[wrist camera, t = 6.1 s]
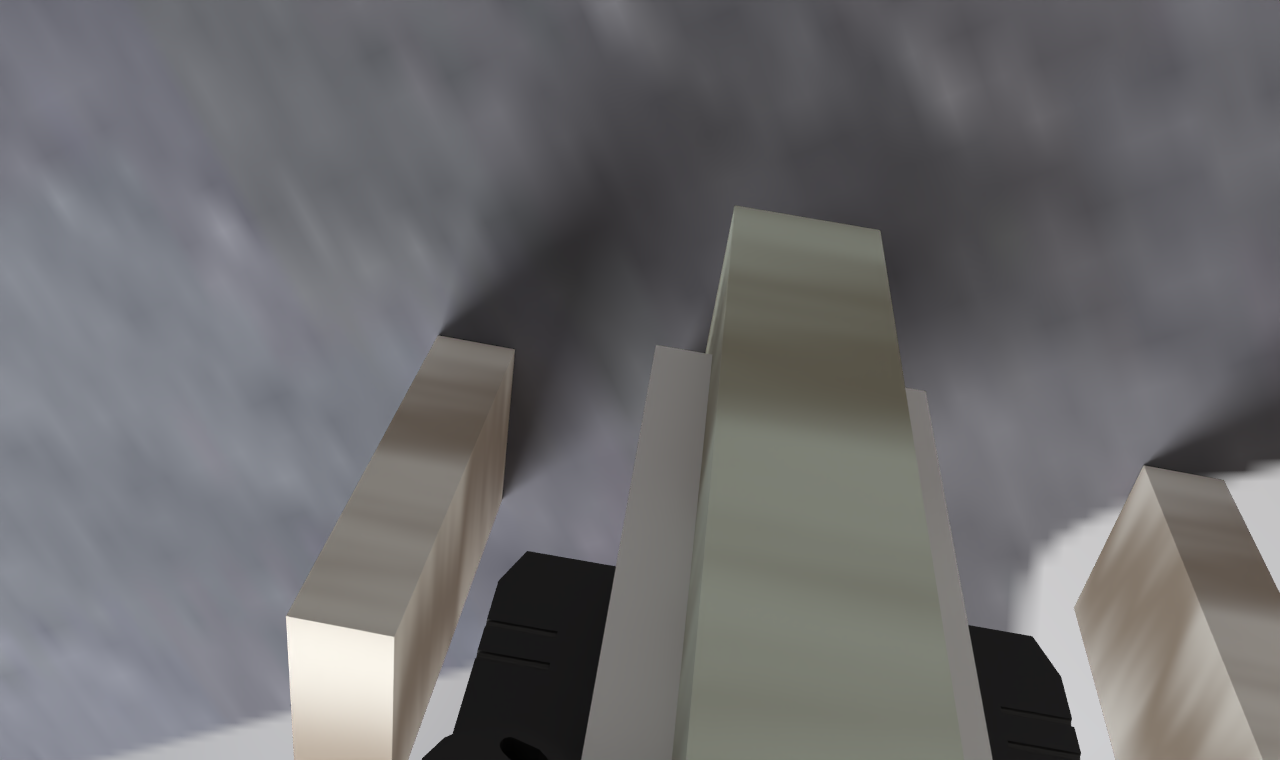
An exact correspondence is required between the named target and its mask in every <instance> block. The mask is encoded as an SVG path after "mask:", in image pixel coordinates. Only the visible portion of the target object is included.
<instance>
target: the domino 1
mask: <svg viewBox="0 0 1280 760" xmlns="http://www.w3.org/2000/svg"><path fill="white" fill-rule="evenodd" d="M514 356H515V349H510V348H504V347H499V346H493V345H488V344H483V343H477V342H472V341H466V340H461V339H455V338H450V337H444V336H439V335H438V336H437V338H436V340H435V342H434V344H433V345H432V347H431V349H430V351H429V353H428V355H427V357H426V358H425V360H424V362H423V364H422V366H421V368H420V370H419V371H418V373H417V375H416V377H415V379H414V381H413V382H412V384H411V386H410V388H409V390H408V392H407V394H406V395H405V397H404V399H403V401H402V403H401V405H400V406H399V408H398V410H397V412H396V414H395V416H394V418H393V419H392V421H391V423H390V425H389V427H388V429H387V431H386V432H385V434H384V436H383V438H382V440H381V442H380V443H379V445H378V447H377V449H376V451H375V453H374V455H373V456H372V458H371V460H370V462H369V464H368V466H367V468H366V469H365V471H364V473H363V475H362V477H361V479H360V480H359V482H358V484H357V486H356V488H355V490H354V492H353V493H352V495H351V497H350V499H349V501H348V503H347V505H346V506H345V508H344V510H343V512H342V514H341V516H340V517H339V519H338V521H337V523H336V525H335V527H334V529H333V530H332V532H331V534H330V536H329V538H328V540H327V542H326V543H325V545H324V547H323V549H322V551H321V553H320V554H319V556H318V558H317V560H316V562H315V564H314V566H313V567H312V569H311V571H310V573H309V575H308V577H307V579H306V580H305V582H304V584H303V586H302V588H301V590H300V591H299V593H298V595H297V597H296V599H295V601H294V603H293V604H292V606H291V608H290V610H289V612H288V614H287V616H286V623H287V641H288V658H289V676H290V694H291V712H292V730H293V748H294V760H408V759H409V756H410V753H411V750H412V747H413V745H414V742H415V739H416V737H417V734H418V731H419V728H420V726H421V723H422V720H423V717H424V714H425V712H426V709H427V706H428V703H429V700H430V698H431V695H432V692H433V689H434V687H435V684H436V681H437V678H438V676H439V673H440V670H441V667H442V665H443V662H444V659H445V656H446V654H447V651H448V648H449V645H450V642H451V640H452V637H453V634H454V631H455V629H456V626H457V623H458V620H459V617H460V615H461V612H462V609H463V606H464V604H465V601H466V598H467V595H468V593H469V590H470V587H471V584H472V581H473V579H474V576H475V573H476V570H477V568H478V565H479V562H480V559H481V557H482V554H483V551H484V548H485V545H486V543H487V540H488V537H489V534H490V532H491V529H492V526H493V523H494V521H495V518H496V515H497V512H498V509H499V507H500V504H501V501H502V494H503V482H504V471H505V459H506V448H507V436H508V425H509V413H510V402H511V390H512V379H513V367H514Z"/></svg>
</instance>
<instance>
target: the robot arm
mask: <svg viewBox="0 0 1280 760" xmlns="http://www.w3.org/2000/svg"><path fill="white" fill-rule="evenodd" d="M711 365H712V354H706V353H700V352H694V351H689V350H683V349H677V348H671V347H665V346H659V345H656V347H655V353H654V358H653V364H652V370H651V375H650V381H649V386H648V392H647V397H646V403H645V408H644V414H643V420H642V425H641V431H640V436H639V442H638V447H637V453H636V458H635V464H634V470H633V475H632V481H631V486H630V492H629V497H628V503H627V508H626V514H625V520H624V525H623V531H622V536H621V542H620V547H619V553H618V558H617V564H616V566H610V565H604V564H599V563H593V562H587V561H581V560H576V559H570V558H564V557H558V556H553V555H547V554H541V553H535V552H530V551H527V552H526V553H525V554H524V555H523V556H522V557H521V558H520V559H519V560H518V561H517V562H516V563H515V564H514V565H513V566H512V567H511V569H510V570H509V571H508V572H507V573H506V574H505V575H504V576H503V577H502V578H501V579H500V580H499V581H498V585H497V588H496V591H495V595H494V598H493V601H492V605H491V608H490V611H489V615H488V618H487V623H486V627H485V628H484V631H483V635H482V638H481V641H480V645H479V648H478V653H477V657H476V658H475V661H474V665H473V668H472V671H471V674H470V678H469V681H468V684H467V688H466V691H465V694H464V698H463V701H462V704H461V708H460V711H459V715H458V718H457V721H456V724H455V728H454V731H453V734H452V735H450V736H448V737H445V738H444V739H443V740H441V741H440V742H439V743H438V744H437V745H436V746H435V747H434V748H433V749H432V750H431V751H430V752H429V753H428V754H426V755H425V756H424V757H423V758H422V760H672V752H673V742H674V732H675V722H676V712H677V702H678V693H679V683H680V673H681V663H682V653H683V643H684V633H685V623H686V613H687V603H688V593H689V583H690V573H691V563H692V553H693V544H694V534H695V524H696V514H697V504H698V494H699V484H700V474H701V464H702V454H703V444H704V434H705V424H706V414H707V404H708V394H709V385H710V375H711ZM905 390H906V396H907V402H908V409H909V415H910V421H911V428H912V434H913V440H914V447H915V453H916V459H917V466H918V472H919V478H920V484H921V491H922V497H923V503H924V510H925V516H926V522H927V529H928V535H929V541H930V548H931V554H932V560H933V567H934V573H935V579H936V586H937V592H938V598H939V604H940V611H941V617H942V623H943V630H944V636H945V642H946V649H947V655H948V661H949V668H950V674H951V680H952V687H953V693H954V699H955V705H956V712H957V718H958V724H959V731H960V737H961V743H962V750H963V756H964V760H1080V755H1081V751H1080V748H1079V744H1078V740H1077V736H1076V732H1075V729H1074V727H1071V720H1072V717H1071V714H1070V710H1069V706H1068V702H1067V698H1066V694H1065V690H1064V686H1063V683H1062V679H1061V676H1060V675H1059V673H1058V672H1057V671H1056V669H1055V668H1054V666H1053V665H1052V663H1051V662H1050V661H1049V659H1048V658H1047V656H1046V655H1045V653H1044V652H1043V651H1042V649H1041V648H1040V646H1039V645H1038V644H1037V642H1036V641H1035V639H1034V638H1033V637H1032V636H1027V635H1021V634H1016V633H1010V632H1004V631H999V630H993V629H987V628H981V627H976V626H970V625H968V622H967V616H966V611H965V605H964V600H963V594H962V589H961V583H960V578H959V572H958V567H957V561H956V556H955V550H954V545H953V539H952V534H951V528H950V523H949V517H948V512H947V506H946V501H945V495H944V490H943V484H942V479H941V473H940V468H939V462H938V457H937V451H936V446H935V440H934V435H933V429H932V424H931V418H930V413H929V407H928V402H927V396H926V391H921V390H916V389H910V388H905Z"/></svg>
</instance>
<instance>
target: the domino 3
mask: <svg viewBox="0 0 1280 760" xmlns="http://www.w3.org/2000/svg"><path fill="white" fill-rule="evenodd" d="M1074 609H1075V613H1076V617H1077V620H1078V624H1079V627H1080V631H1081V635H1082V639H1083V642H1084V646H1085V649H1086V653H1087V657H1088V660H1089V664H1090V668H1091V672H1092V675H1093V679H1094V682H1095V686H1096V690H1097V693H1098V697H1099V701H1100V705H1101V708H1102V712H1103V716H1104V719H1105V723H1106V727H1107V730H1108V734H1109V738H1110V742H1111V745H1112V749H1113V753H1114V756H1115V760H1280V593H1279V591H1278V589H1277V587H1276V585H1275V583H1274V581H1273V579H1272V577H1271V575H1270V572H1269V571H1268V568H1267V566H1266V564H1265V563H1264V560H1263V558H1262V556H1261V554H1260V552H1259V550H1258V548H1257V546H1256V544H1255V542H1254V540H1253V538H1252V536H1251V534H1250V532H1249V530H1248V528H1247V526H1246V524H1245V522H1244V520H1243V518H1242V516H1241V514H1240V512H1239V510H1238V508H1237V506H1236V504H1235V502H1234V500H1233V498H1232V496H1231V494H1230V492H1229V490H1228V488H1227V486H1226V483H1225V481H1224V480H1220V479H1215V478H1210V477H1204V476H1199V475H1193V474H1188V473H1183V472H1177V471H1172V470H1166V469H1161V468H1156V467H1150V466H1145V465H1144V466H1143V468H1142V470H1141V472H1140V474H1139V476H1138V478H1137V480H1136V482H1135V484H1134V486H1133V488H1132V490H1131V492H1130V494H1129V496H1128V498H1127V500H1126V502H1125V505H1124V507H1123V509H1122V511H1121V513H1120V515H1119V517H1118V519H1117V521H1116V523H1115V525H1114V527H1113V529H1112V531H1111V533H1110V535H1109V537H1108V539H1107V541H1106V544H1105V546H1104V548H1103V550H1102V552H1101V554H1100V556H1099V558H1098V560H1097V562H1096V564H1095V566H1094V568H1093V570H1092V572H1091V574H1090V576H1089V579H1088V580H1087V582H1086V584H1085V586H1084V589H1083V591H1082V593H1081V595H1080V597H1079V599H1078V601H1077V603H1076V605H1075V607H1074Z"/></svg>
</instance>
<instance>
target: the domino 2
mask: <svg viewBox="0 0 1280 760" xmlns="http://www.w3.org/2000/svg"><path fill="white" fill-rule="evenodd" d="M705 353H706V354H712V365H711V375H710V385H709V394H708V404H707V414H706V424H705V434H704V444H703V454H702V464H701V474H700V484H699V494H698V504H697V514H696V524H695V534H694V544H693V553H692V563H691V573H690V583H689V593H688V603H687V613H686V623H685V633H684V643H683V653H682V663H681V673H680V683H679V693H678V702H677V712H676V722H675V732H674V742H673V752H672V760H964V756H963V750H962V743H961V737H960V731H959V724H958V718H957V712H956V705H955V699H954V693H953V687H952V680H951V674H950V668H949V661H948V655H947V649H946V642H945V636H944V630H943V623H942V617H941V611H940V604H939V598H938V592H937V586H936V579H935V573H934V567H933V560H932V554H931V548H930V541H929V535H928V529H927V522H926V516H925V510H924V503H923V497H922V491H921V484H920V478H919V472H918V466H917V459H916V453H915V447H914V440H913V434H912V428H911V421H910V415H909V409H908V402H907V396H906V390H905V383H904V377H903V371H902V365H901V358H900V352H899V346H898V339H897V333H896V327H895V320H894V314H893V308H892V301H891V295H890V289H889V282H888V276H887V270H886V264H885V257H884V251H883V245H882V238H881V232H880V230H876V229H870V228H864V227H859V226H853V225H847V224H841V223H835V222H829V221H823V220H817V219H811V218H806V217H800V216H794V215H788V214H782V213H776V212H770V211H764V210H758V209H753V208H747V207H741V206H734V211H733V216H732V221H731V226H730V231H729V236H728V241H727V247H726V252H725V257H724V262H723V267H722V272H721V277H720V282H719V287H718V292H717V297H716V302H715V307H714V312H713V317H712V322H711V327H710V332H709V337H708V342H707V347H706V352H705Z"/></svg>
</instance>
